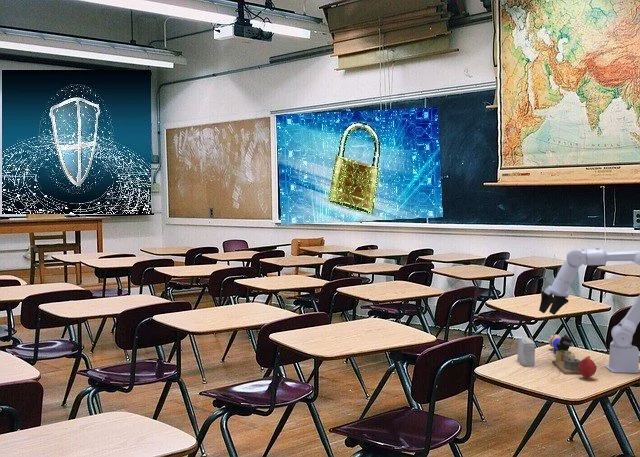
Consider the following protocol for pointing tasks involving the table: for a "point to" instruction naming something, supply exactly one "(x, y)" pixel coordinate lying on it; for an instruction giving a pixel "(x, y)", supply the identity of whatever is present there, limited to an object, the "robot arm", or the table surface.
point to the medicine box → (526, 352)
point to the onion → (587, 367)
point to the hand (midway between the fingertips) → (546, 312)
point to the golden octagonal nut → (561, 355)
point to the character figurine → (560, 342)
